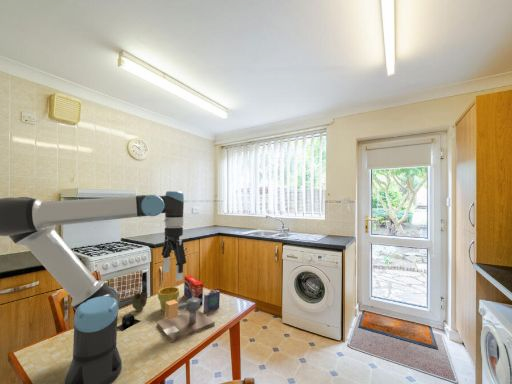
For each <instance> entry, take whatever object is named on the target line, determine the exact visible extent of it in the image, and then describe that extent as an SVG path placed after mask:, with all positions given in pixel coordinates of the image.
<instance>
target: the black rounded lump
mask: <svg viewBox="0 0 512 384" xmlns="http://www.w3.org/2000/svg"><path fill="white" fill-rule="evenodd" d="M141 322H142V320H139V319H137V318H135V314H133V313H131V312H129V313H127V314H126V315H123V316H122V319H121V324H119V325H117V331H118V330H119V331H121V332H124V331H126V330H127V329H129V328H131V327H133V326H135V325H137V324H139V323H141Z"/></svg>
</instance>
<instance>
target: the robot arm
mask: <svg viewBox="0 0 512 384" xmlns="http://www.w3.org/2000/svg"><path fill="white" fill-rule="evenodd" d="M184 195H185V194H184V192H182V191H174V190H173V191H170V190H169V191H166V192H165V195H157V194H148V195H146V194H141V195H140V194H137V195H133V196H132V195H131V196H117V197H115V196H114V197H101V198H83V199H68V200H66V199H65V200H54V201H51V200H50V201H43V200H42V199H40V198H33V197H28V196H22V197H21V196H19V197H2V198H0V237H9V238H10V239H11V241H12V242H13V243H14V244H15V245H20V246H25V247H26V248H27V249H28V250H29V252H30V253H31V254H32V255H34V257H35V258H36V260H38V261H39V263H40V264H41V265H42V266H43V267H44V268H45V270H47V272H48V273H49V274H50V275H51V276H52V277H53V278H54V279H55V280H56V282H57V283H58V284H59V285H60V286H61V287H62V288H63V290H64V291H65V292H66V293H67V294H68V295H69V297H71V298H72V299H71V304H70V306H71V307H72V308H73V309H74V310H75V313H74V316H73V343H72V344H73V346H72V347H73V349H72V360H71V361H70V364H69V365H70V366H69V367H68V370H67V373H66V375H65V378H64V382H63V384H112V383H113V382H114V381H116V379H117V378H118V377H119V376H120V374H121V372H122V368H123V367H122V363H123V362H122V358H121V355H120V352H119V350H118V347H117V339H118V334H117V333H118V329H117V326H118V317H119V309H120V305H121V304H120V301H121V300H120V296H119V293H118V291H117V290H116V289H115V288H113V287H111V286H109V285H108V284H107V283H106V282H105V281H104V280H98V279H97V278H95V277H94V275H93V274H92V272H90V270H89V269H88V268H87V266H86V265H85V264H84V263H83V262H82V261H81V260H80V258H79V257H78V256H77V255H76V253H74V251H73V250H72V249H71V248H70V246H69V245H68V244H67V243H66V241H65V240H64V239H63V238H62V237H61V236H60V235H59V233H58V231H56V227H57V226H64V225H71V224H75V225H76V224H84V223H92V222H101V221H111V220H121V219H130V218H140V217H141V218H142V217H157V216H159V215H161V214H164V220H163V222H164V226H165V227H164V242H163V245H162V246H163V247H162V250H161V256H162V258H163V259H162V260H163V261H162V265H163V266H162V267H163V269H162V273H163V274H166V273H170V272H171V271H170V269H171V267H170V266H171V254H172V252H173V253H174V257H175V261H176V263H175V282H179V281H183V280H184V265H185V264H187V259H186V253H185V252H186V251H185V247H184V239H180V237H182V236H183V234H184V228H183V226H184V207H185V205H184V204H185V201H184V200H185V199H184V197H185V196H184Z"/></svg>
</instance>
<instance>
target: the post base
mask: <svg viewBox="0 0 512 384" xmlns="http://www.w3.org/2000/svg"><path fill="white" fill-rule="evenodd" d="M215 324H216V322H215V321H214V320H213V319H212V318H210V317H209V316H207V315H206V314H205V313H203V312H202V311H201V310H200V309H198V310H196V311H186V312H183V313H181V314H178V317H176V318H173V319H170V320H168V319H167V318H165V319H162V320H160V321H157V322H156V326H157V327H158V328H159V330H161V332H162V334H164V335H165V336H166V338H167V339H168V340H169V341H170V342H171V343H176V342H177V341H180V340H182V339H184V338H185V339H186V338H188V337H189V336H192V335H194V334H196V333H199V332H202V331H204V330H206V329H209V328H211V327H213V326H215Z"/></svg>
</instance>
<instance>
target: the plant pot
mask: <svg viewBox="0 0 512 384" xmlns="http://www.w3.org/2000/svg"><path fill="white" fill-rule="evenodd" d="M179 296H180V289H179V287H175V286H168V287H163V288H161V289H159V290H158V292H157V298H158V300H159V303H160V308H161V311H162V312H163V313H165V302H168V301H171V300H176V301H177V302H178V298H179Z"/></svg>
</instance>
